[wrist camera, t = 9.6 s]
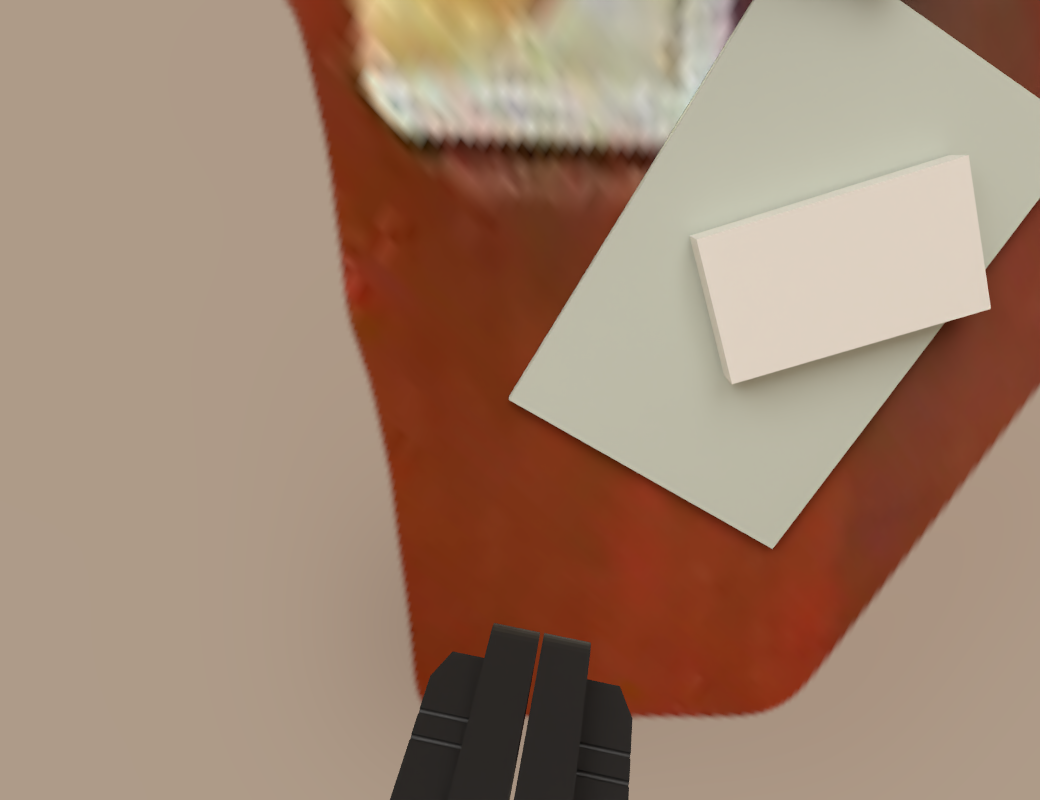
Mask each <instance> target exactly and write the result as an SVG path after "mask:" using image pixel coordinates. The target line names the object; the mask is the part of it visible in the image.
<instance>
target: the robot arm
mask: <svg viewBox="0 0 1040 800" xmlns="http://www.w3.org/2000/svg"><path fill="white" fill-rule="evenodd" d="M539 636H540V632H535V631H530V630H525V629H520V628H515V627H511V626H506V625H501V624H496V623H494V625H493V628H492V631H491V635H490V639H489V643H488V646H487V650H486V654H485V658H481V657H476V656H471V655H467V654H462V653H457V652H452V653H451V654H450V655H449V656H448V657H447V658H446V660H445V661H444V662H443V663H442V664H441V665H440V666H439V667H438V668H437V669H436V670H435V672H434V673H433V674H432V675H431V676H430V679H429V682H428V685H427V688H426V691H425V694H424V697H423V700H422V703H421V706H420V711H419V714H418V716H417V719H416V722H415V725H414V728H413V731H412V735H411V739H410V740H409V743H408V746H407V749H406V753H405V756H404V759H403V762H402V765H401V768H400V771H399V774H398V777H397V780H396V783H395V786H394V789H393V792H392V796H391V798H390V800H510V794H511V789H512V783H513V778H514V773H515V768H516V762H517V757H518V751H519V746H520V741H521V735H522V730H523V725H524V719H525V714H526V708H527V703H528V697H529V692H530V686H531V681H532V675H533V669H534V664H535V658H536V653H537V647H538V641H539ZM590 647H591V643H590V642H585V641H580V640H575V639H570V638H565V637H560V636H556V635H551V634H546V633H544V638H543V643H542V649H541V654H540V660H539V665H538V670H537V676H536V681H535V687H534V692H533V698H532V703H531V709H530V714H529V720H528V725H527V731H526V736H525V742H524V747H523V753H522V758H521V764H520V770H519V775H518V780H517V786H516V792H515V797H514V800H628V792H629V787H628V784H629V773H630V753H631V733H632V717H631V714H630V712H629V709H628V706H627V704H626V701H625V699H624V696H623V694H622V691H621V688H620V686H616V685H611V684H606V683H601V682H597V681H592V680H587V675H588V666H589V657H590Z"/></svg>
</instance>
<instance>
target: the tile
mask: <svg viewBox="0 0 1040 800" xmlns="http://www.w3.org/2000/svg"><path fill="white" fill-rule="evenodd" d="M690 240H691V244H692V248H693V252H694V256H695V260H696V264H697V268H698V272H699V276H700V280H701V284H702V288H703V292H704V296H705V301H706V305H707V309H708V313H709V317H710V321H711V325H712V329H713V333H714V337H715V341H716V345H717V349H718V353H719V357H720V361H721V365H722V369H723V373H724V376H725V377H726V378H727V379H728V380H729V381H730V383H731V384H735V383H738V382H742V381H745V380H749V379H752V378H756V377H759V376H762V375H766V374H769V373H773V372H776V371H780V370H783V369H786V368H790V367H793V366H797V365H800V364H804V363H807V362H810V361H814V360H817V359H821V358H824V357H828V356H831V355H834V354H838V353H841V352H845V351H848V350H852V349H855V348H858V347H862V346H865V345H869V344H872V343H876V342H879V341H882V340H886V339H889V338H893V337H896V336H899V335H903V334H906V333H910V332H913V331H917V330H920V329H923V328H927V327H930V326H934V325H937V324H941V323H944V322H947V321H951V320H954V319H958V318H961V317H965V316H968V315H971V314H975V313H978V312H982V311H985V310H989V309H991V306H990V299H989V292H988V285H987V279H986V272H985V265H984V258H983V251H982V244H981V237H980V230H979V223H978V216H977V209H976V202H975V195H974V188H973V181H972V175H971V168H970V161H969V155H948V156H945V157H942V158H938V159H935V160H932V161H929V162H926V163H922V164H919V165H916V166H913V167H909V168H906V169H903V170H900V171H897V172H893V173H890V174H887V175H884V176H881V177H877V178H874V179H871V180H868V181H864V182H861V183H858V184H855V185H852V186H848V187H845V188H842V189H839V190H836V191H832V192H829V193H826V194H823V195H819V196H816V197H813V198H810V199H807V200H803V201H800V202H797V203H794V204H791V205H787V206H784V207H781V208H778V209H774V210H771V211H768V212H765V213H762V214H758V215H755V216H752V217H749V218H746V219H742V220H739V221H736V222H733V223H729V224H726V225H723V226H720V227H717V228H713V229H710V230H707V231H704V232H701V233H697V234H694V235H691V236H690Z"/></svg>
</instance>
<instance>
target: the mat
mask: <svg viewBox="0 0 1040 800" xmlns="http://www.w3.org/2000/svg"><path fill="white" fill-rule="evenodd" d="M948 155H969V161H970V168H971V175H972V181H973V188H974V195H975V202H976V209H977V216H978V223H979V230H980V237H981V244H982V251H983V258H984V265H985V269H986V268H987V267H988V265H989V264H990V263H991V261H992V260H993V259H994V257H995V256H996V255H997V253H998V252H999V251H1000V250H1001V248H1002V247H1003V246H1004V244H1005V243H1006V242H1007V240H1008V239H1009V238H1010V236H1011V235H1012V234H1013V232H1014V231H1015V230H1016V229H1017V227H1018V226H1019V225H1020V223H1021V222H1022V221H1023V219H1024V218H1025V217H1026V215H1027V214H1028V213H1029V211H1030V210H1031V209H1032V208H1033V206H1034V205H1035V204H1036V202H1037V201H1038V200H1039V198H1040V99H1039V98H1038V97H1036V96H1035V95H1033V94H1032V93H1030V92H1029V91H1028V90H1026V89H1025V88H1023V87H1022V86H1021V85H1019V84H1018V83H1016V82H1015V81H1013V80H1012V79H1011V78H1009V77H1008V76H1006V75H1005V74H1004V73H1002V72H1001V71H999V70H998V69H996V68H995V67H994V66H992V65H991V64H989V63H988V62H987V61H985V60H984V59H982V58H981V57H979V56H978V55H977V54H975V53H974V52H972V51H971V50H970V49H968V48H967V47H965V46H964V45H962V44H961V43H960V42H958V41H957V40H955V39H954V38H953V37H951V36H950V35H948V34H947V33H945V32H944V31H943V30H941V29H940V28H938V27H937V26H936V25H934V24H933V23H931V22H930V21H928V20H927V19H926V18H924V17H923V16H921V15H920V14H919V13H917V12H916V11H914V10H913V9H911V8H910V7H909V6H907V5H906V4H904V3H903V2H902V1H900V0H752V2H751V3H750V5H749V7H748V8H747V10H746V12H745V13H744V15H743V16H742V18H741V20H740V21H739V23H738V25H737V26H736V28H735V30H734V31H733V33H732V34H731V36H730V38H729V39H728V41H727V43H726V44H725V46H724V47H723V49H722V51H721V52H720V54H719V56H718V57H717V59H716V60H715V62H714V64H713V65H712V67H711V69H710V70H709V72H708V73H707V75H706V77H705V78H704V80H703V82H702V83H701V85H700V86H699V88H698V90H697V91H696V93H695V95H694V96H693V98H692V99H691V101H690V103H689V104H688V106H687V108H686V109H685V111H684V112H683V114H682V116H681V117H680V119H679V121H678V122H677V124H676V126H675V127H674V129H673V130H672V132H671V134H670V135H669V137H668V139H667V140H666V142H665V143H664V145H663V147H662V148H661V150H660V152H659V153H658V155H657V156H656V158H655V160H654V161H653V163H652V165H651V166H650V168H649V169H648V171H647V173H646V174H645V176H644V178H643V179H642V181H641V182H640V184H639V186H638V187H637V189H636V191H635V192H634V194H633V195H632V197H631V199H630V200H629V202H628V204H627V205H626V207H625V209H624V210H623V212H622V213H621V215H620V217H619V218H618V220H617V222H616V223H615V225H614V226H613V228H612V230H611V231H610V233H609V235H608V236H607V238H606V239H605V241H604V243H603V244H602V246H601V248H600V249H599V251H598V252H597V254H596V256H595V257H594V259H593V261H592V262H591V264H590V265H589V267H588V269H587V270H586V272H585V274H584V275H583V277H582V278H581V280H580V282H579V283H578V285H577V287H576V288H575V290H574V291H573V293H572V295H571V296H570V298H569V300H568V301H567V303H566V305H565V306H564V308H563V309H562V311H561V313H560V314H559V316H558V318H557V319H556V321H555V322H554V324H553V326H552V327H551V329H550V331H549V332H548V334H547V335H546V337H545V339H544V340H543V342H542V344H541V345H540V347H539V348H538V350H537V352H536V353H535V355H534V357H533V358H532V360H531V361H530V363H529V365H528V366H527V368H526V370H525V371H524V373H523V374H522V376H521V378H520V379H519V381H518V383H517V384H516V386H515V387H514V389H513V391H512V392H511V394H510V396H509V400H510V401H512V402H514V403H515V404H517V405H519V406H521V407H522V408H524V409H526V410H528V411H529V412H531V413H533V414H535V415H536V416H538V417H540V418H542V419H544V420H545V421H547V422H549V423H551V424H552V425H554V426H556V427H558V428H559V429H561V430H563V431H565V432H567V433H568V434H570V435H572V436H574V437H575V438H577V439H579V440H581V441H582V442H584V443H586V444H588V445H590V446H591V447H593V448H595V449H597V450H598V451H600V452H602V453H604V454H605V455H607V456H609V457H611V458H612V459H614V460H616V461H618V462H620V463H621V464H623V465H625V466H627V467H628V468H630V469H632V470H634V471H635V472H637V473H639V474H641V475H643V476H644V477H646V478H648V479H650V480H651V481H653V482H655V483H657V484H658V485H660V486H662V487H664V488H665V489H667V490H669V491H671V492H673V493H674V494H676V495H678V496H680V497H681V498H683V499H685V500H687V501H688V502H690V503H692V504H694V505H696V506H697V507H699V508H701V509H703V510H704V511H706V512H708V513H710V514H711V515H713V516H715V517H717V518H718V519H720V520H722V521H724V522H726V523H727V524H729V525H731V526H733V527H734V528H736V529H738V530H740V531H741V532H743V533H745V534H747V535H749V536H750V537H752V538H754V539H756V540H757V541H759V542H761V543H763V544H764V545H766V546H768V547H770V548H771V549H773V548H774V546H775V545H776V544H777V542H778V541H779V540H780V539H781V537H782V536H783V535H784V533H785V532H786V531H787V529H788V528H789V527H790V525H791V524H792V523H793V521H794V520H795V519H796V517H797V516H798V515H799V514H800V512H801V511H802V510H803V508H804V507H805V506H806V504H807V503H808V502H809V500H810V499H811V498H812V496H813V495H814V494H815V493H816V491H817V490H818V489H819V487H820V486H821V485H822V483H823V482H824V481H825V479H826V478H827V477H828V475H829V474H830V473H831V472H832V470H833V469H834V468H835V466H836V465H837V464H838V462H839V461H840V460H841V458H842V457H843V456H844V454H845V453H846V452H847V450H848V449H849V448H850V447H851V445H852V444H853V443H854V441H855V440H856V439H857V437H858V436H859V435H860V433H861V432H862V431H863V429H864V428H865V427H866V426H867V424H868V423H869V422H870V420H871V419H872V418H873V416H874V415H875V414H876V412H877V411H878V410H879V408H880V407H881V406H882V405H883V403H884V402H885V401H886V399H887V398H888V397H889V395H890V394H891V393H892V391H893V390H894V389H895V387H896V386H897V385H898V384H899V382H900V381H901V380H902V378H903V377H904V376H905V374H906V373H907V372H908V370H909V369H910V368H911V366H912V365H913V364H914V362H915V361H916V360H917V359H918V357H919V356H920V355H921V353H922V352H923V351H924V349H925V348H926V347H927V345H928V344H929V343H930V341H931V340H932V339H933V338H934V336H935V335H936V334H937V332H938V331H939V330H940V328H941V327H942V326H943V324H944V323H945V322H944V323H941V324H937V325H934V326H930V327H927V328H923V329H920V330H917V331H913V332H910V333H906V334H903V335H899V336H896V337H893V338H889V339H886V340H882V341H879V342H876V343H872V344H869V345H865V346H862V347H858V348H855V349H852V350H848V351H845V352H841V353H838V354H834V355H831V356H828V357H824V358H821V359H817V360H814V361H810V362H807V363H804V364H800V365H797V366H793V367H790V368H786V369H783V370H780V371H776V372H773V373H769V374H766V375H762V376H759V377H756V378H752V379H749V380H745V381H742V382H738V383H735V384H731V383H730V381H729V380H728V379H727V378H726V377H725V376H724V373H723V369H722V365H721V361H720V357H719V353H718V349H717V345H716V341H715V337H714V333H713V329H712V325H711V321H710V317H709V313H708V309H707V305H706V301H705V296H704V292H703V288H702V284H701V280H700V276H699V272H698V268H697V264H696V260H695V256H694V252H693V248H692V244H691V240H690V236H691V235H694V234H697V233H701V232H704V231H707V230H710V229H713V228H717V227H720V226H723V225H726V224H729V223H733V222H736V221H739V220H742V219H746V218H749V217H752V216H755V215H758V214H762V213H765V212H768V211H771V210H774V209H778V208H781V207H784V206H787V205H791V204H794V203H797V202H800V201H803V200H807V199H810V198H813V197H816V196H819V195H823V194H826V193H829V192H832V191H836V190H839V189H842V188H845V187H848V186H852V185H855V184H858V183H861V182H864V181H868V180H871V179H874V178H877V177H881V176H884V175H887V174H890V173H893V172H897V171H900V170H903V169H906V168H909V167H913V166H916V165H919V164H922V163H926V162H929V161H932V160H935V159H938V158H942V157H945V156H948Z"/></svg>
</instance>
